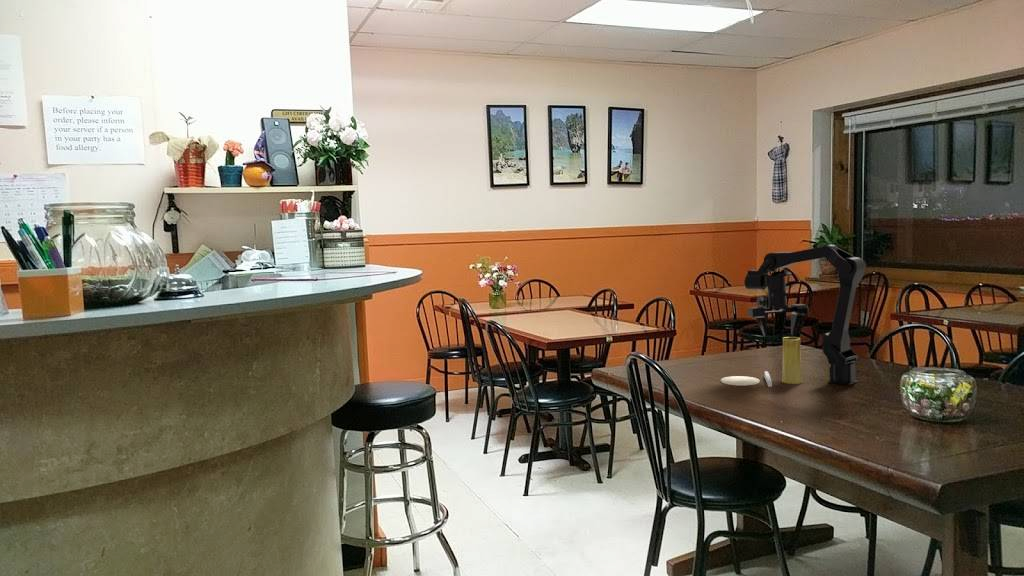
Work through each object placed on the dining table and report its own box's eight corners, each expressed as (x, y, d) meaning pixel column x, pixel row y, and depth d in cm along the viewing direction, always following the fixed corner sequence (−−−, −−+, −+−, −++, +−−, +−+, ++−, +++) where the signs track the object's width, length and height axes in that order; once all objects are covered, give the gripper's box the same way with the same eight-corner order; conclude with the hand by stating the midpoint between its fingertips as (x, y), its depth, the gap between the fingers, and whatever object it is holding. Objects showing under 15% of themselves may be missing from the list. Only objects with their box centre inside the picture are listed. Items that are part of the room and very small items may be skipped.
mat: (766, 380, 225) (766, 379, 225) (746, 387, 217) (746, 385, 217) (734, 376, 234) (734, 374, 234) (713, 382, 226) (713, 380, 226)
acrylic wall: (764, 377, 230) (764, 371, 230) (767, 377, 230) (767, 371, 230) (768, 386, 217) (768, 380, 217) (771, 386, 217) (771, 380, 216)
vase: (805, 383, 218) (805, 339, 217) (785, 384, 218) (785, 340, 217) (798, 379, 224) (797, 336, 223) (778, 380, 224) (778, 337, 223)
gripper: (794, 286, 240) (796, 331, 241) (740, 290, 240) (743, 334, 241) (808, 288, 229) (810, 335, 230) (752, 292, 229) (754, 339, 230)
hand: (778, 335), depth 233 cm, fingers open, 9 cm apart
